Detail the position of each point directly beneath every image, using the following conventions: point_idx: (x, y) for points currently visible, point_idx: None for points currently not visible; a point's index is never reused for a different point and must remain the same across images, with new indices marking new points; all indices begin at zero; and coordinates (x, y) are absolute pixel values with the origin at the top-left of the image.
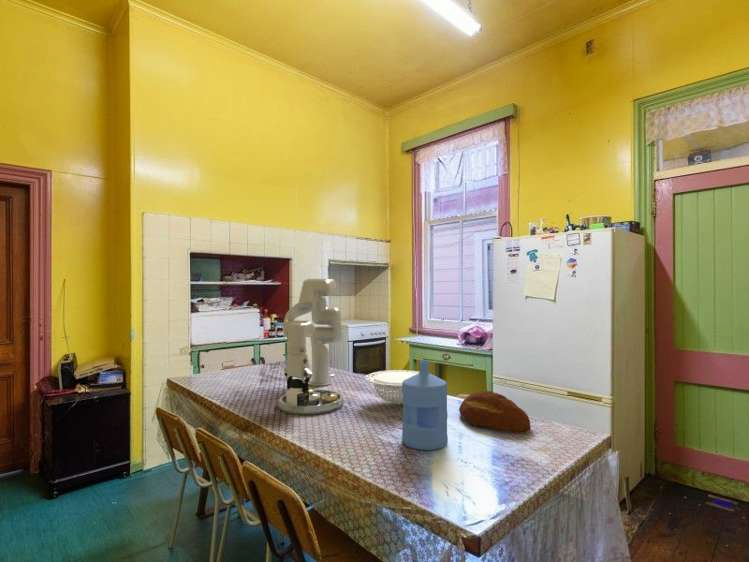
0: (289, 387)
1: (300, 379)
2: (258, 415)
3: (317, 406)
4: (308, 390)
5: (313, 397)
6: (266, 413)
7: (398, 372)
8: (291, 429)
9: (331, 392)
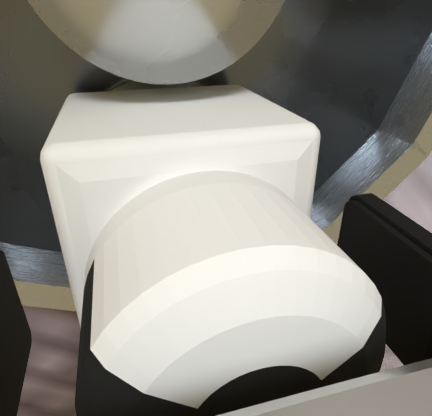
0: (24, 329)
1: (318, 377)
2: (64, 403)
3: (424, 156)
4: (318, 139)
5: (271, 11)
6: (60, 359)
7: None
8: (386, 355)
9: None
